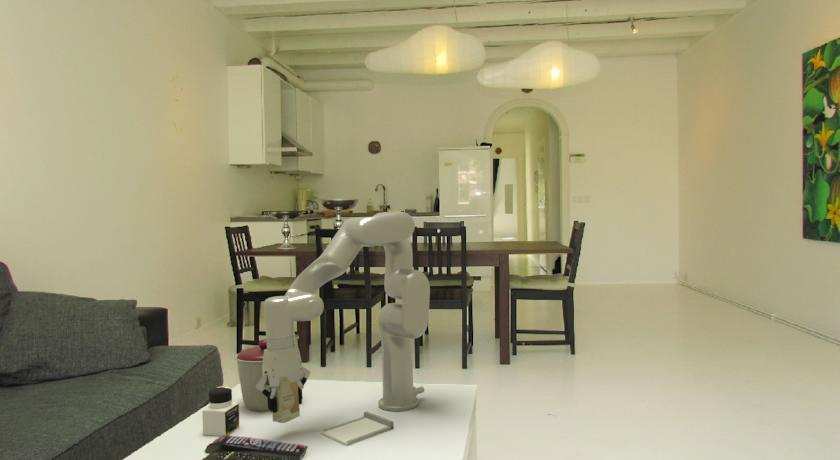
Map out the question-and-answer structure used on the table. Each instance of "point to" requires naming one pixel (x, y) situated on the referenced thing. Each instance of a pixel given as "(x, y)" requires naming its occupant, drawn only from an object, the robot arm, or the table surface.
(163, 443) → the table surface
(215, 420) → the medicine bottle
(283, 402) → the skincare box
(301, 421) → the table surface
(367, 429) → the mat
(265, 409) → the canister
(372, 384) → the table surface
